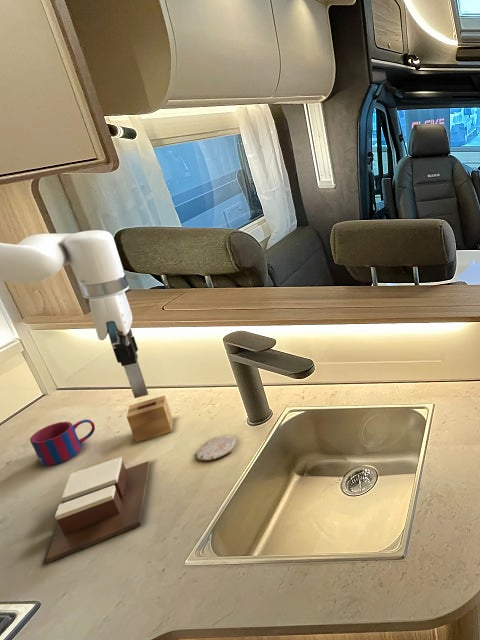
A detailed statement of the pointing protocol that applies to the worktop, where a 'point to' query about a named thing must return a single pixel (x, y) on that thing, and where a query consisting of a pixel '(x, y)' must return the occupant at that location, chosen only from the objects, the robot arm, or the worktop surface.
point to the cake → (96, 479)
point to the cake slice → (88, 509)
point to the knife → (134, 373)
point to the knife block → (150, 418)
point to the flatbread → (216, 447)
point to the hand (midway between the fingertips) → (128, 355)
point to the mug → (58, 442)
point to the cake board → (110, 526)
